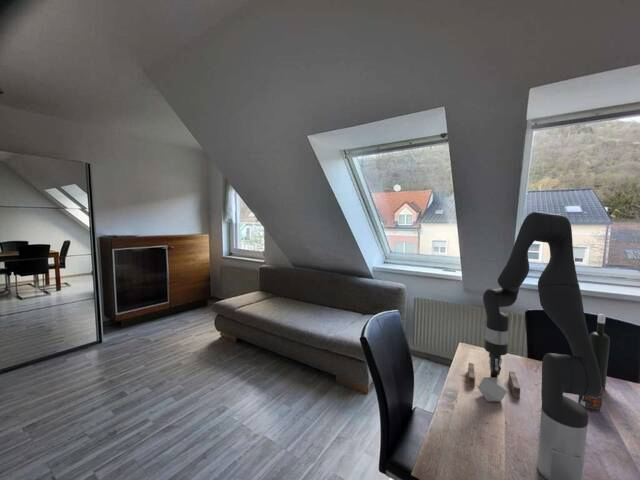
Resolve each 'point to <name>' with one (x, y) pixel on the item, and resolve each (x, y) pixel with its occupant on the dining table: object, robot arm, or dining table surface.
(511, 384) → the pair of wooden rails
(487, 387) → the die
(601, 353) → the wine bottle
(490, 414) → the dining table surface
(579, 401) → the supplement bottle
